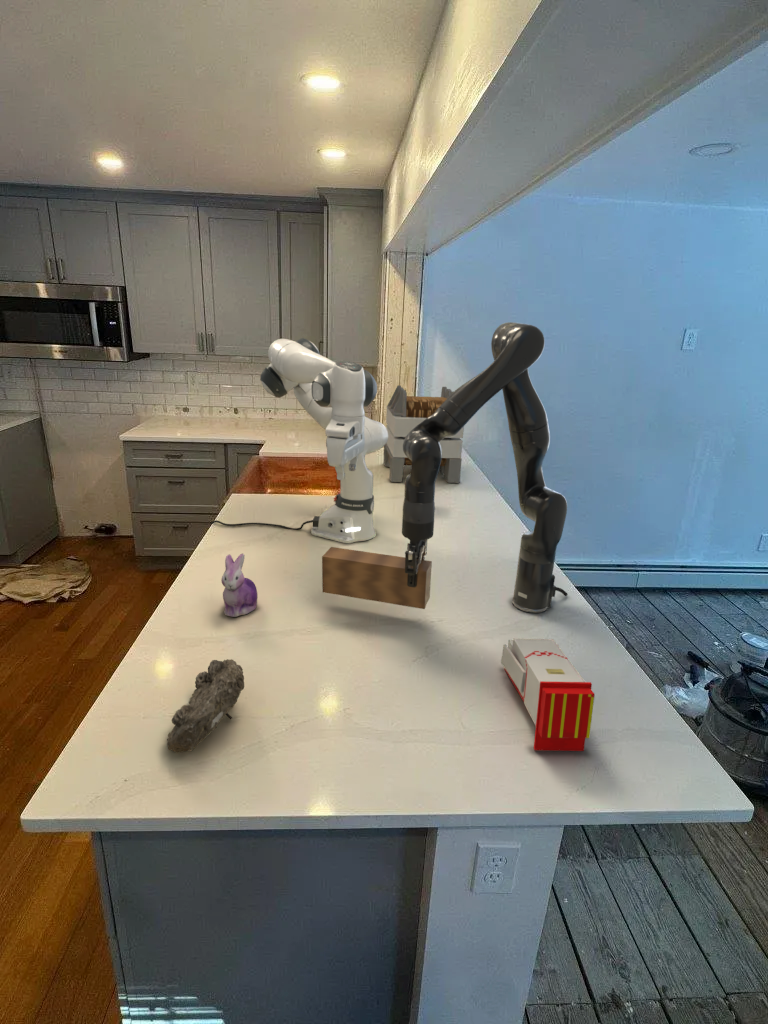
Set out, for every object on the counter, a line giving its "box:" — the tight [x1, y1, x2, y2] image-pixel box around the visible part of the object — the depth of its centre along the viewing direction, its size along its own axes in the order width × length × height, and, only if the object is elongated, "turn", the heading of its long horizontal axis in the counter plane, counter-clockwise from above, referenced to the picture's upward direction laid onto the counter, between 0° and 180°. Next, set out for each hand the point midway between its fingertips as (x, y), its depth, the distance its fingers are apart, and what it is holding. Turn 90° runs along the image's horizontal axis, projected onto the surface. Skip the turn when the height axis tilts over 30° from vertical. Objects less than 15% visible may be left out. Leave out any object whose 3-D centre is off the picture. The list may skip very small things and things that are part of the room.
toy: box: [500, 637, 595, 752], centre depth 114 cm, size 12×13×30 cm
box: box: [321, 546, 433, 610], centre depth 142 cm, size 27×6×10 cm, turn 74°
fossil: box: [166, 658, 245, 754], centre depth 106 cm, size 22×10×15 cm
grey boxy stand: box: [383, 384, 465, 484], centre depth 268 cm, size 34×33×41 cm
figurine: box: [220, 553, 258, 618], centre depth 144 cm, size 9×10×15 cm
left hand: (346, 474), depth 156 cm, fingers open, 8 cm apart
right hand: (415, 580), depth 139 cm, fingers closed on box, 6 cm apart
